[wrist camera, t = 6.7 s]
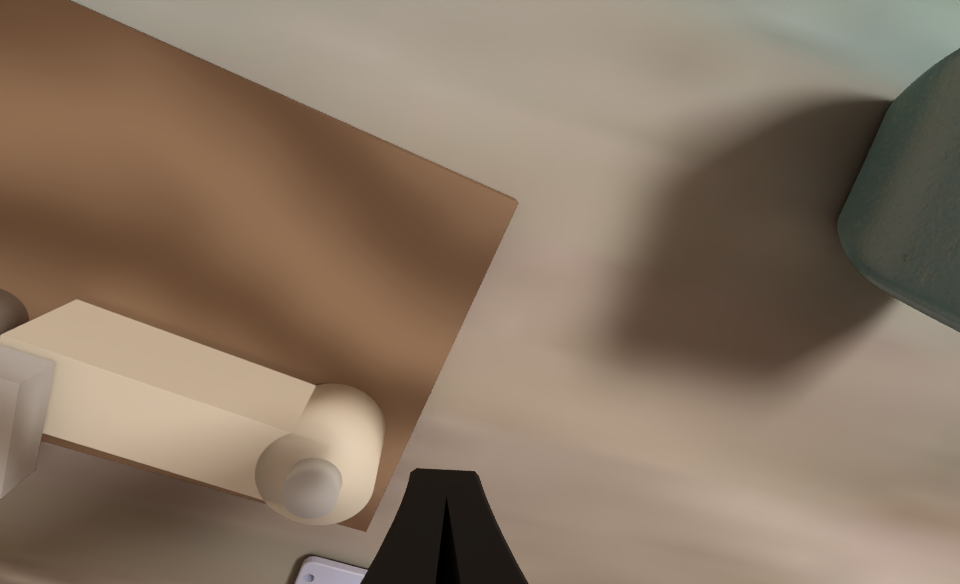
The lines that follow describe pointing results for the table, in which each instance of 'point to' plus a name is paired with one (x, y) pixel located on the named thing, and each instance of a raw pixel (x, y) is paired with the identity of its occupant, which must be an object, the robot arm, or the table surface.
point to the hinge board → (220, 225)
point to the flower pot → (912, 198)
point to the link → (206, 413)
